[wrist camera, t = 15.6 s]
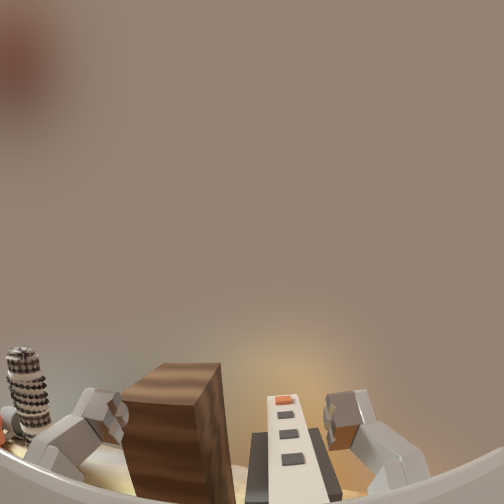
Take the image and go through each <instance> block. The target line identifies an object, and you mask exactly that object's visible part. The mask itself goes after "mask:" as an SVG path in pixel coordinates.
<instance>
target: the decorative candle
mask: <svg viewBox="0 0 504 504" xmlns="http://www.w3.org/2000/svg"><path fill="white" fill-rule="evenodd" d="M38 357H39V355H38V354H36V353H35V351H34V350H33V349H32V348H29V347H14V348H11V349H10V350H9V351H8V354H7V355H6V356H5V358H7V364H8V368H9V370H8V376H7V382H9V384H10V386H9V389H10V391H11V398H13V400H14V402H13V404H14V407H15V410H16V412H17V413H18V415H19V418H20V425H21V428H22V429H21V431H22V434H23V437H24V440H25V441H26V442H25V444H26V447H27V450H28V448H29V446H30V444H31V442H32V440H33V438H34V437H36V436H37V435H39V434H40V433H42V432H43V431H45V430H46V429H48V428H49V427H51V426H52V425H53V423H52V420H51V418H50V414H49V410H50V407H49V406H48V403H49V401H48V399H47V398H46V397H47V395H48V393H46V392H45V391H44V390H43V389H44V388H45V387H46V386H47V385H46V384H45V383H44V382H43V381H44V380H45V377H44V376H42V372H41V369H40V365H39V359H38ZM10 379H11V381H10ZM42 382H43V383H42ZM12 388H13V389H12Z"/></svg>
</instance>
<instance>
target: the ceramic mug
mask: <svg viewBox="0 0 504 504" xmlns="http://www.w3.org/2000/svg"><path fill="white" fill-rule="evenodd" d="M0 415H1V418H2V420H3V423H4V424H3V425H2V427H1V428H2V430H4V429H6V430H7V431H8V432H9V433H7V434H6V435H5V441H7V440H9V439H11V438H12V437H13V436H16V437H18V438H20V439H24V437H23V434H22V431H21V429H22V428H21V425H20V418H19V415H18V413H17V412H16V410H15V408H14V407H11V406H5V407H3V408H2V409H1V410H0Z"/></svg>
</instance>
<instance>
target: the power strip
mask: <svg viewBox="0 0 504 504" xmlns="http://www.w3.org/2000/svg"><path fill="white" fill-rule="evenodd" d="M267 404H268V405H267V406H268V471H269V504H323V503H330V501H329V498H328V495H327V491H326V488H325V485H324V481H323V478H322V475H321V472H320V468H319V465H318V462H317V458H316V455H315V452H314V448H313V445H312V442H311V439H310V435H309V432H308V429H307V425H306V422H305V419H304V416H303V412H302V409H301V406H300V403H299V399H298V396H297V394H292V395H280V396H268V397H267Z"/></svg>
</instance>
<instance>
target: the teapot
mask: <svg viewBox="0 0 504 504" xmlns="http://www.w3.org/2000/svg"><path fill="white" fill-rule="evenodd" d="M3 424H4V423H3V420H2V418H1V415H0V447H3V446H4V445H3V444H4V443H5V435H4V432H3V430H2V428H1V427H2V425H3Z"/></svg>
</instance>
